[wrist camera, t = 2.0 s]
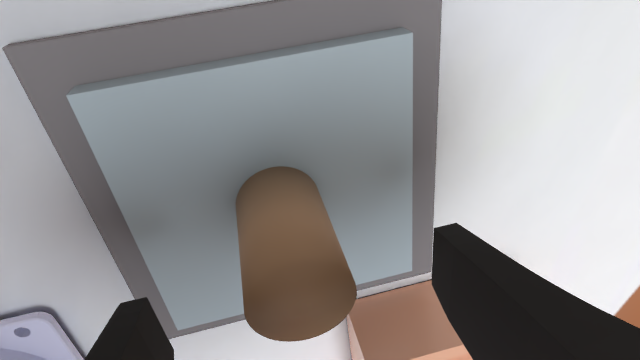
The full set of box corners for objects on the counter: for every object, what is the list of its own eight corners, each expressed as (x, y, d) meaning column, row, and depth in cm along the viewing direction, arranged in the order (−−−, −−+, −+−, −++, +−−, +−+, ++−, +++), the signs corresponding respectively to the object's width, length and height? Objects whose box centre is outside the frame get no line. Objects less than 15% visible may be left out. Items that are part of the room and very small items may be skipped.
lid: (179, 314, 16) (166, 452, 12) (75, 86, 11) (-12, 183, 7) (404, 257, 18) (467, 365, 13) (402, 26, 12) (503, 79, 8)
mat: (158, 333, 17) (157, 342, 17) (8, 44, 11) (2, 48, 10) (427, 265, 19) (431, 271, 18) (436, -27, 12) (442, -26, 12)
